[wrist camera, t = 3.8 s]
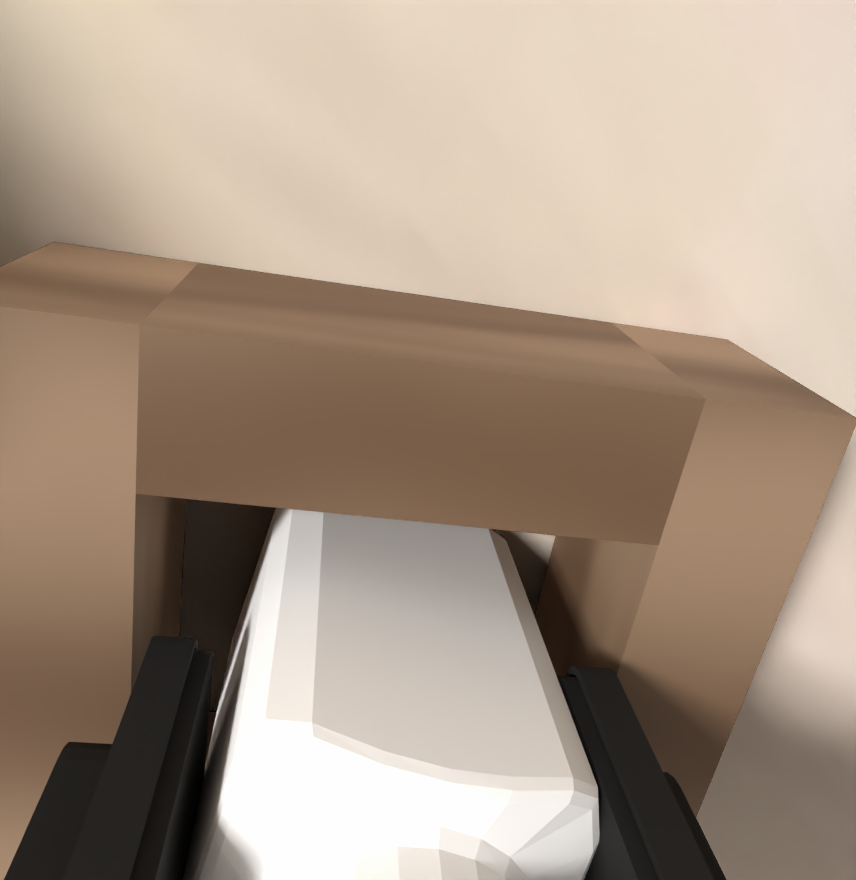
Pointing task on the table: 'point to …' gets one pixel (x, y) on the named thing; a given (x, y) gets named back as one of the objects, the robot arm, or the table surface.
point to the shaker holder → (384, 477)
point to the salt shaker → (391, 716)
